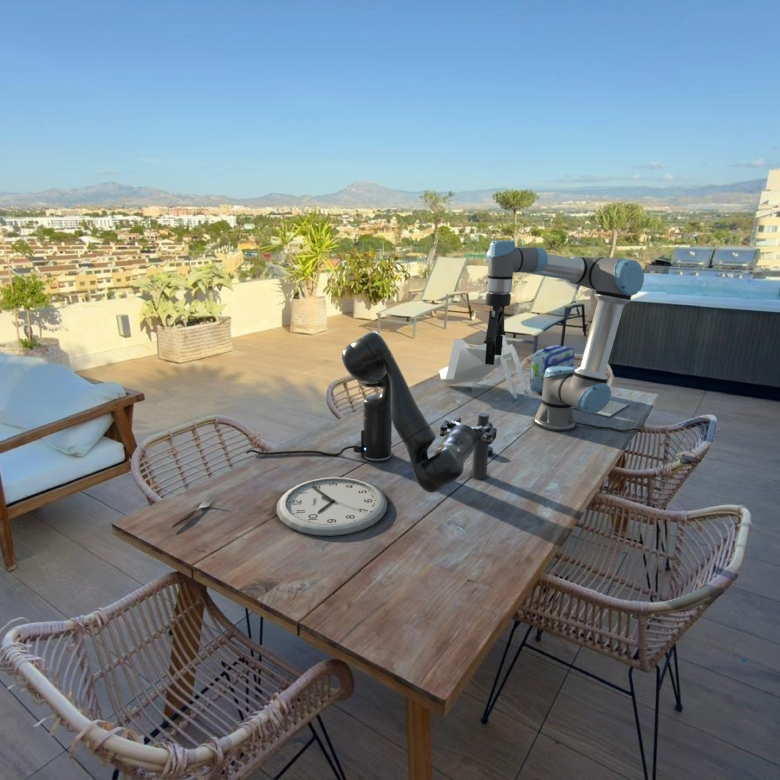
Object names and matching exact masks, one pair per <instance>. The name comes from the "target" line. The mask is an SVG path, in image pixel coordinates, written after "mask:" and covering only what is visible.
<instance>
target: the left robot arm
mask: <svg viewBox="0 0 780 780" xmlns="http://www.w3.org/2000/svg"><path fill="white" fill-rule="evenodd" d="M341 360H342V362H343V366H344V368H345V369H346V371H347V372H348V374H349V375H350V376H351V377H352V378H353V379H355V380H356V381H357V382H359V383H360V385H361V386H362V387H364V388H372V389H373V388H374V389H381V390H379V391H378V392H376V393H374V394H370V395H368V396H366V397H364V399H363V428H362V429H361V430H360V440H358V441H357V442H356V443H355V444H354V445H348V446H345V447H343V448H342V449H341V450H340V451H339V452H337V453H329V452H324V451H321V450H284V451H283V450H282V451H269V452H268V451H267V452H264V451H263V452H262V451H258V450H255V449H249V450H247V451H245V454H246V455H247V454H250V453H255V454H258V455H262V456H263V455H266V456H268V455H269V456H271V455H282V454H283V455H285V454H320V455H325V456H331V457H338V456H340V455H342V454H343V453H344V452H345V451H346V450H349V449H353V453H358V454H360V457H361V458H363V459H365V460H367V461H368V462H374V463H379V462H380V463H381V462H386V461H388V460H390V459H391V458H392V445H393V441H392V432H393V430H392V428H393V427H394V429H395V431H396V433H397V434H398V436H399V438H400V439H401V441H402V443H403V444H404V446H405V448H406V450H407V453H408V456H409V461H410V463H411V466H412V470H413V474H414V477H415V479H416V483H418V485H419V486H420V488H422V489H423V490H424V492H425V491H426V492H428V493H430V494H431V493H436V492H440V491H441V490H442V489H444V488H445V487H446V486H448V485H450V484H451V483H453V482H455V481H456V480H457V479H459V478H460V477H461V475H462V474H463V472H464V464H465V461H466V460H468V458H469V457H470V456H471V455H472V454H473V451H474V448H475V447H476V445H477V443H478V442H480V441H481V440H483V441H486V444H489V446H490V445H492V444H493V442H494V441H495V440H496V438H497V432H498V431H497V430H498V428H496V427H494V424H493V423H492V422H491V421H488V424H487V425H486V426H485V427H482V426H478V427H476V426H469V425H467V424H461V422H462V417H459V416H458V417H457V418H455V419H454V420H451V421H449V420H448V419H447V420H444V421H443V422H442V424H441V425H440V426H439V436H440V437H444V438H443V439H442V442H441V443H440V444H439V445H438V447H436V450H435V452H434V455H432V456H431V457H429V453H428V452H429V448H430V447H431V446H432V445H433V443H434V442H435V441H436V435H435V432H434V430H433V428H431V425H430V424H429V422H428V420H427V419H426V417H425V415H424V414H423V413H422V411H421V409H420V408H419V406H418V405H417V402H416V400H415V398H414V396H413V394H412V391H411V390H410V387H409V385H408V382H407V381H406V379H405V376H404V374H403V372H402V370H401V368H400V367H399V366H400V365H398V362H397V360H396V358H395V357H394V354H393V353H392V351H391V349H390V347H389V346H388V344H387V342H386V341H385V340H384V338H383V336H382V335H381V334H379V332H377V331H373V330H372V331H370V332H368V333H366V334H364V335H363V336H361V337H359V338H358V339H356V340H355V341H353V342H351V343H350V344H348V345H347V346H345V347H344V348H343V350H342V351H341ZM392 425H393V427H392ZM478 430H479V431H478ZM485 430H486V431H485ZM484 431H485V433H484Z"/></svg>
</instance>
